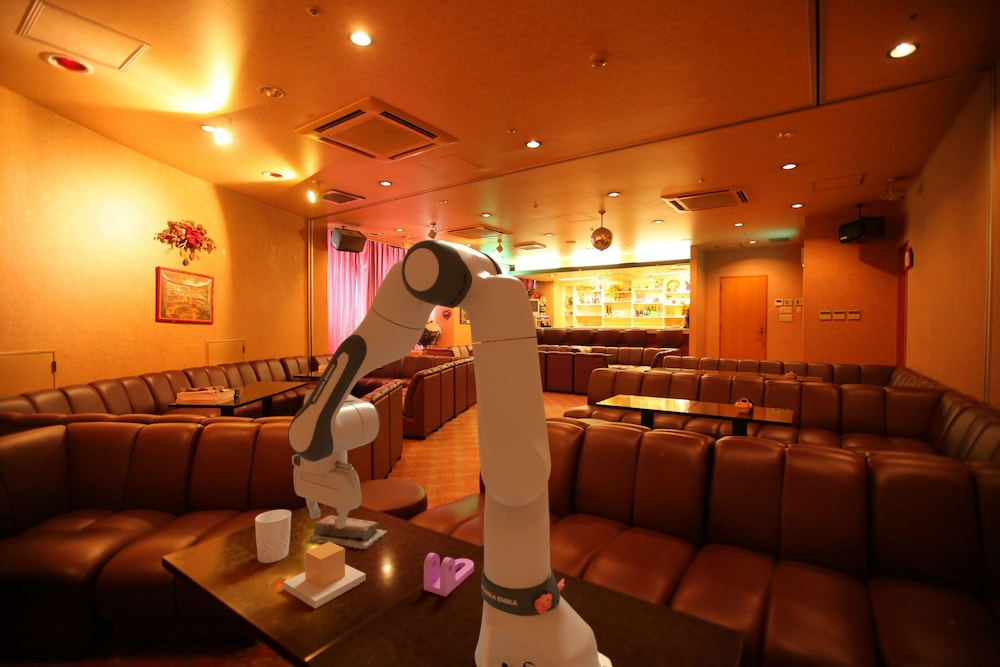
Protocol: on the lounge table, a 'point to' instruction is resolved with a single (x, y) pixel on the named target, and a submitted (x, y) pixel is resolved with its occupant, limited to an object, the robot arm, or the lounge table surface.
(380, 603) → the lounge table surface
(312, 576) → the solid orange cube
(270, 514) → the white cup
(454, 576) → the bracket
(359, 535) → the packaged product
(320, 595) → the pin plate
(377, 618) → the lounge table surface
